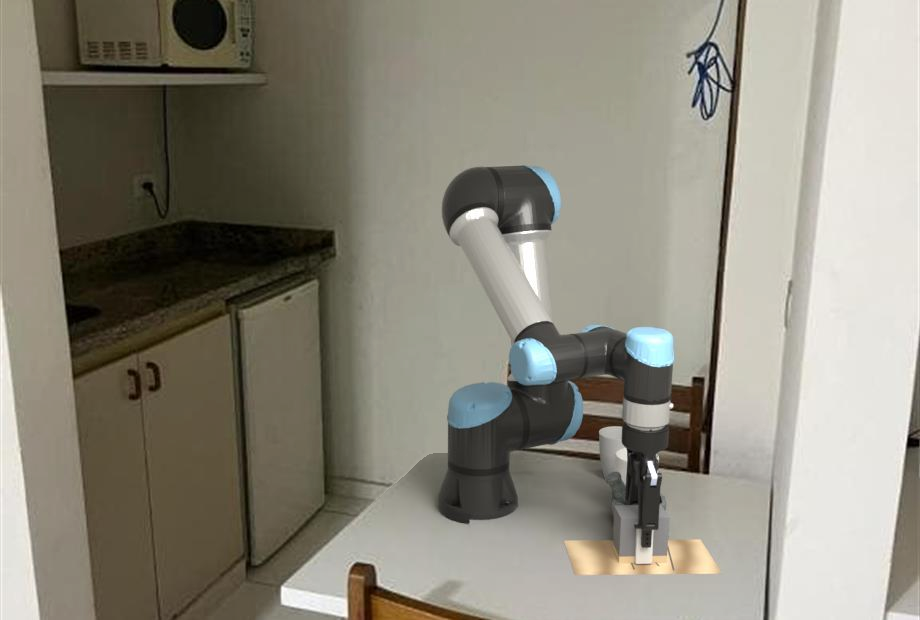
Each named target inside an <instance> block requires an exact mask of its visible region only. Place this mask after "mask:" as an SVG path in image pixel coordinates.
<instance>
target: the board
mask: <svg viewBox="0 0 920 620" xmlns="http://www.w3.org/2000/svg"><path fill="white" fill-rule="evenodd" d="M563 542H564V545H565V548H566V553H567V554H568V557H569V561H570V564H571V568H572V569H573V573H574V576H593V575H594V576H595V575H596V576H604V575H607V576H608V575H610V576H611V575H615V576H618V575H619V576H620V575H623V576H625V575H627V576H628V575H698V574H700V575H701V574H702V575H709V574H711V575H713V574H715V575H717V574H719V575H720V574H721V575H722V574H723V573H722V571H721V569H720V568H719V566H718V565H717V563H716V561H715V560H714V559H713V557H712V556H711V553H709V551H708V549H707V548H706V546H705V544H704V543H703V541H702V540H701V538H699V539H692V538H691V539H668V549H667V562H658V563H652V564H636V563H619V562H618V560H617V558H616V556H615V554H614V552H613V549H612V547H613V539H604V540H603V539H602V540H598V539H596V540H594V539H593V540H592V539H590V540H589V539H585V540H581V539H580V540H578V539H577V540H576V539H575V540H572V539H571V540H563Z"/></svg>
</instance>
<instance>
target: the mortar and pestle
mask: <svg viewBox="0 0 920 620" xmlns="http://www.w3.org/2000/svg"><path fill="white" fill-rule="evenodd" d="M605 482H606V484H608V485H609V486H610V488H611V498H610V499H611V508H612V509H611V510H612V515H613V517H614V506H616V505H627V504H628V501H626V500H625V493H626V485H625V484H624V482H623V481H622V479H621V474H620V473H619V472H612V473H610V474H608V475H607V477H606V480H605ZM660 505H662V507H663V508H664V510H665V512H666V513H667V500H666V495H664V494H663V493H661V492H660Z"/></svg>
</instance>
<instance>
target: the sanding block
mask: <svg viewBox="0 0 920 620" xmlns="http://www.w3.org/2000/svg"><path fill="white" fill-rule="evenodd" d="M634 524H639V516H638V505H616V506H614V516H613V529H612V540H613V547H612V549H613V552H614V554H615V556H616V558H617V560H618V562H619V563H635V545H636V529H635V528H634ZM669 531H670V516H669V515H668V513H667V511H666V512H665V510H664V508H663V507H662V505H659V527H658V530H654V534H653V553H652V563H658V562H667V549H668V540H669Z"/></svg>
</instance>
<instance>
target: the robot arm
mask: <svg viewBox="0 0 920 620" xmlns="http://www.w3.org/2000/svg"><path fill="white" fill-rule="evenodd" d="M561 208H562V196H561V192H560V188H559V186H558V183H557V181H556V179H555V177H554V176H553V175H552V174H551V173H550V172H549V171H548V170H547V169H546V168H544V167H542V166H541V167H540V166H531V165H530V166H529V165H526V164H523V165H509V166H508V165H506V166H504V165H503V166H475V167H471V168H468V169H467V168H466V169H465V170H463V171H461V172H460V173H458V174H457V175H455V177H454V178H452V180H451V181H450V183H448V185H447V187H446V189H445V192H444V194H443V197H442V202H441V219H442V222H443V226H444V230H445V231H446V233H447V235H448V237H449V239H450V241H451V242H452V244H454V245H456V246H458V247H460V248H461V249H462V251H463V253H464V255H465V256H466V259H467V261H468V262H469V264H470V266H471V268H472V269H473V272H474V274H475V276H476V277H477V279H478V281H479V282H480V285H481V286H482V287H481V288H483V290H484V292H485V294H486V296H487V298H488V299H489V301H490V303H491V306H492V307H493V308H494V311H495V312H496V314H497V315H498V317H499V320H500V321H501V323H502V325H503V327H504V329H505V331H506V333H507V334H508V336H509V338H510V344H511V347H510V350H509V352H508V363H509V365H510V372H511V373H510V374H509V376H508V377H507V378H506V379H507V385H506V384H504V383H501V382H494V381H489V382H485V381H484V382H483V381H482V382H477V383H476V382H475V383H471V384H468V385H464V386H463V387H460V388H458V389H457V390H455V392H454V391H453V394H452V395H451V397H450V398H449V401H448V408H447V415H446V421H447V470H446V473H445V476H444V479H443V481H442V484H441V487H440V489H439V492H438V496H437V497H438V499H437V505H438V507H437V509H438V511H439V512H440V513H441V515H443V516H444V517H446V518H448V519H450V520H452V521H455V522H459V523H465V524H470V522H471V521H489V520H495V519H501V518H504V517H506V516H509V515H510V514H513V513H514V512H515V511H516V510H517V508H518V506H519V503H518V501H519V498H518V493H517V490H516V486H515V482H514V481H513V477H512V474H511V471H510V457H511V452H515V451H520V450H526V449H530V448H536V447H540V446H545V445H546V446H547V445H550V446H552V445H556V444H558V443H561V442H565V441H568V440H570V439H572V437H574V436H575V435H576V433H577V432H578V430H579V429H580V427H581V424H582V422H583V417H584V401H583V397H582V394H581V392H580V391H579V387H578V386H577V385H576V383H574V382H572V381H571V380H577V379H585V378H591V377H599V376H604V375H605V376H606V375H608V376H611V377H614V378H616V379H619V380H621V381H623V385H624V386H623V395H622V397H623V398H622V413H621V414H622V417H621V418H622V420H623V422H622V425H621V427H622V444H623V445H624V446H625V447H626V448H627V474H626V493H625V500H626V501H628V504H627V505H638V516H639V524H634V528H635V529H636V545H635V563H636V564H652V553H653V534H654V530H658V527H659V505H660V493H661V486H662V480H663V475H662V472H659V467H660V465H659V464H660V462H658V459H656V454H657V455H658V453H660V452H662V451H665V450H666V449H667V448H668V447H669V438H670V437H669V435H670V426H669V425H668V424H669V423H670V415H671V414H670V410H672V409H673V408H674V404H673V402H671V400H672V386H673V385H672V384H673V382H672V381H673V371H674V368H673V367H674V362H675V356H674V355H675V354H674V351H675V350H674V348H675V347H674V336H673V334H672V333H671V332H670V331H669V330H667V329H663V328H657V327H653V326H638V327H633V328H631V329H629V330H628V331H627V333H625V332H623V331H620V330H618V329H616V328H614V327H610V326H607V325H600V324H590V325H588V326H586V327H585V328H584V329H582V330H581V331H579V332H576V333H567V334H560V332H559V331H558V329H557V327H556V325H555V324H554V315H553V307H552V306H553V305H552V296H551V295H552V294H551V286H550V280H549V279H550V278H549V268H548V267H549V266H548V259H547V250H546V240H547V239H548V238H549V237H550V235H552V233H553V231H552V225H553V224H554V223H555V222H556V221H557V220H558V219H559V216H560V212H559V211H561ZM657 471H658V473H657ZM470 520H471V521H470Z"/></svg>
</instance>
